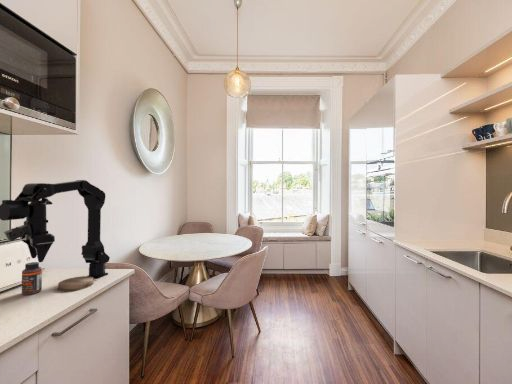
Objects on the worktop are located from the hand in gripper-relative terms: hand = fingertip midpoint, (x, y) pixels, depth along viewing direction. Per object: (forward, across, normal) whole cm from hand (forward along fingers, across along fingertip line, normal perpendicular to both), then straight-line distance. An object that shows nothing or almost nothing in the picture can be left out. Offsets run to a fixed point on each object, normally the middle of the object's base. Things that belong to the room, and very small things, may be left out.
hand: (37, 260), depth 97 cm
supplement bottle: (+14, -8, 0) cm, 16 cm away
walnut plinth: (+14, -3, +13) cm, 19 cm away
